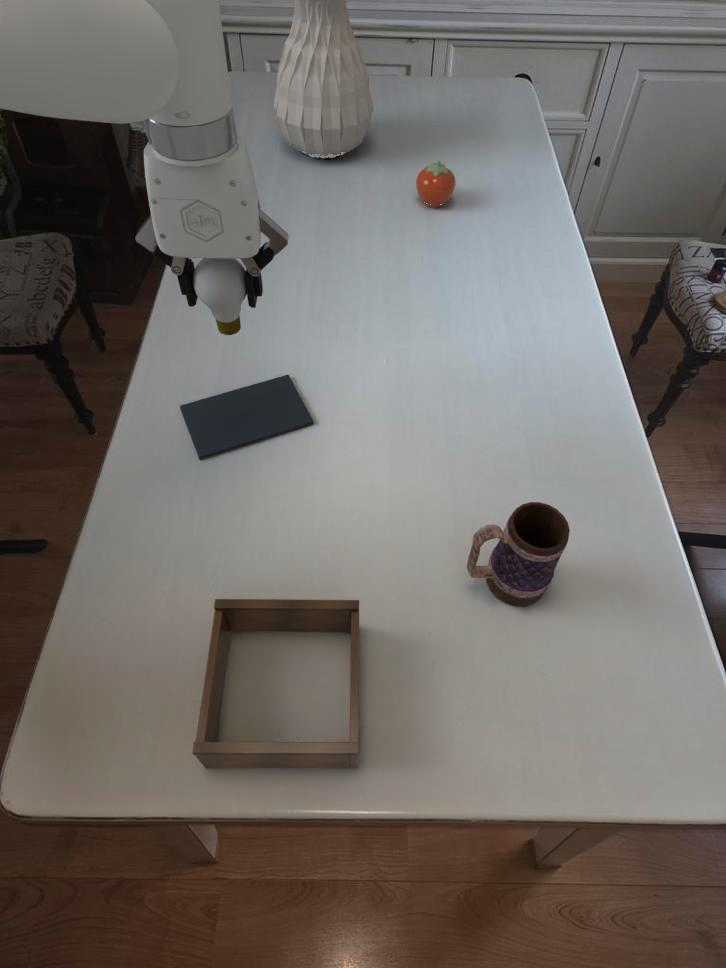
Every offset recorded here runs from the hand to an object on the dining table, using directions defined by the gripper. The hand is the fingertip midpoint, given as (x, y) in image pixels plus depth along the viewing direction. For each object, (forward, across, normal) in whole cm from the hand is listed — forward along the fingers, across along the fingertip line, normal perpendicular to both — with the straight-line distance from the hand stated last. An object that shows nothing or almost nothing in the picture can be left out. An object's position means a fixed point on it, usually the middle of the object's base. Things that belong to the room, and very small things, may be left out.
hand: (223, 298), depth 70 cm
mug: (+21, +32, -24) cm, 45 cm away
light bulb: (+5, 0, 0) cm, 5 cm away
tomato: (+20, +30, +57) cm, 67 cm away
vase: (+20, +8, +78) cm, 81 cm away
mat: (+20, 0, +1) cm, 20 cm away
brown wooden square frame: (+20, +8, -37) cm, 43 cm away
